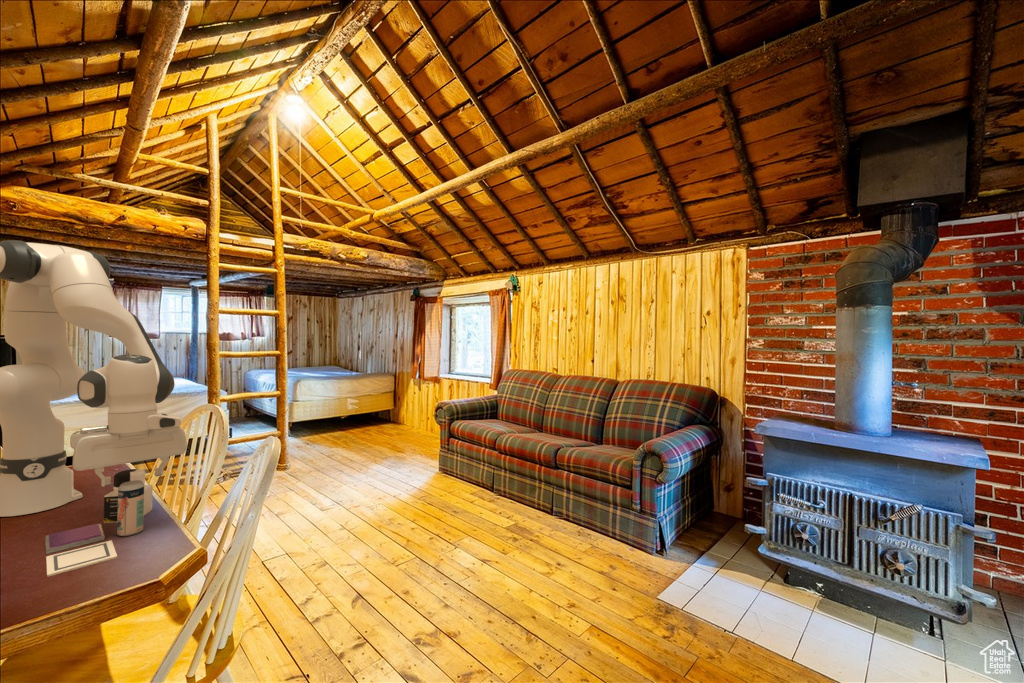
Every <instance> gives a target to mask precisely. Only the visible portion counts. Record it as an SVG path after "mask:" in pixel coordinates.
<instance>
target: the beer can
mask: <svg viewBox="0 0 1024 683" xmlns="http://www.w3.org/2000/svg"><path fill="white" fill-rule="evenodd" d="M144 485H145V484H144V483H143V482H142V481H140V480H136V481H129V482H125V483H122V484H121V485H120V487H119V488H118V516H117V524H116V527H117V529H116V535H117V536H120V537H129V536H130V537H131V536H133V535H137V534H139V533H140V532H141V531H143V530H144V516H143V512H144Z"/></svg>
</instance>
